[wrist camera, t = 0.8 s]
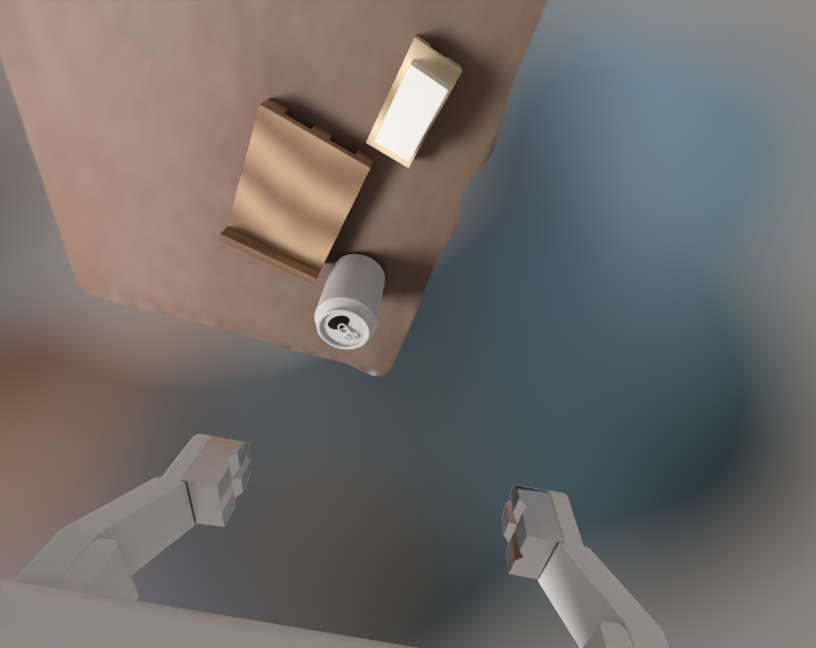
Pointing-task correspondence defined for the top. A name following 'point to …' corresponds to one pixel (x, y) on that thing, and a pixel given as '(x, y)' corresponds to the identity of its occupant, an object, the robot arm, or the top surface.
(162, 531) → the robot arm
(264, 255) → the dock
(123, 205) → the top surface
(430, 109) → the white rectangular block
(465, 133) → the top surface
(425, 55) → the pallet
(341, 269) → the can
